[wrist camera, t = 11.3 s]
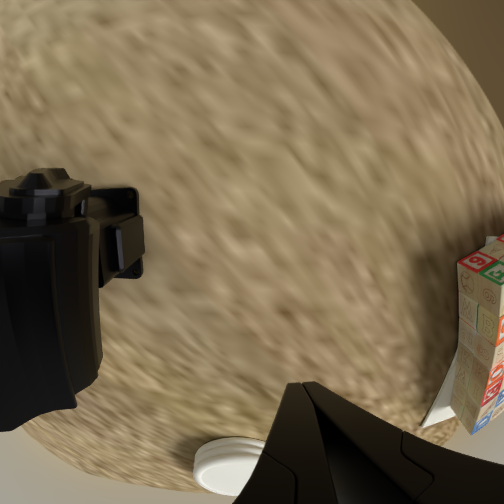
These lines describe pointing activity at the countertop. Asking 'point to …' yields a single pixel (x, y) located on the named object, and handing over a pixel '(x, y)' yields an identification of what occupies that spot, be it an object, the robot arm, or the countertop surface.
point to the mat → (446, 388)
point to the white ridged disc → (226, 464)
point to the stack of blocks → (480, 337)
